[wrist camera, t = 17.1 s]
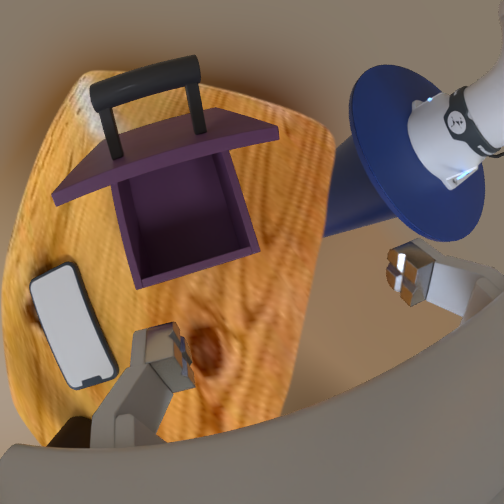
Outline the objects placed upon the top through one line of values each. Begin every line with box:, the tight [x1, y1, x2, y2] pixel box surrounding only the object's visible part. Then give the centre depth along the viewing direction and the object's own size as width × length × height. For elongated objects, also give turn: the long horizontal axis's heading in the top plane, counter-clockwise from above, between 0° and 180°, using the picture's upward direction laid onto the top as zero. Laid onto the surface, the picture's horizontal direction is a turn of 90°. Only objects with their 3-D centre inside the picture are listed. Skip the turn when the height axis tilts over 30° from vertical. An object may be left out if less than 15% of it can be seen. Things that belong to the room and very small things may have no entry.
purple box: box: [111, 150, 260, 290], centre depth 30 cm, size 16×13×8 cm
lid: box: [51, 55, 279, 207], centre depth 18 cm, size 16×13×6 cm
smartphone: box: [29, 262, 119, 390], centre depth 30 cm, size 9×2×16 cm
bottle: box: [46, 416, 92, 448], centre depth 19 cm, size 7×7×20 cm
